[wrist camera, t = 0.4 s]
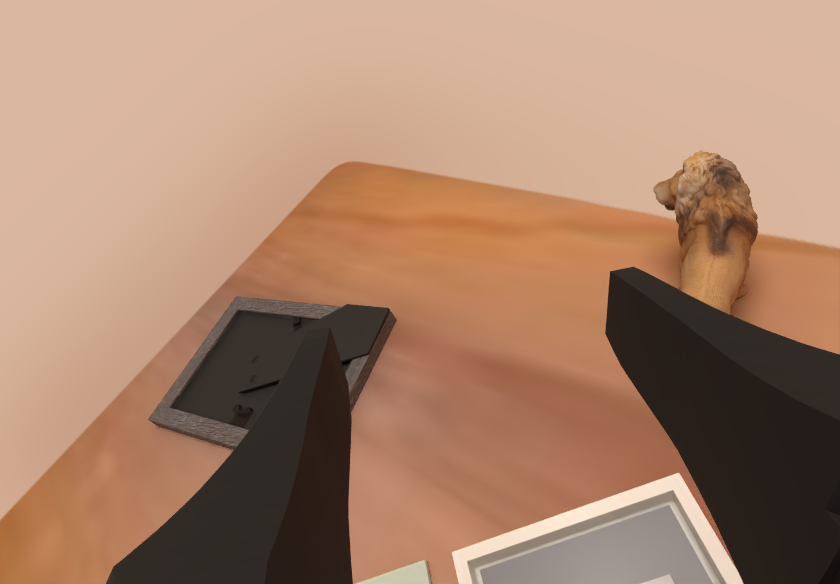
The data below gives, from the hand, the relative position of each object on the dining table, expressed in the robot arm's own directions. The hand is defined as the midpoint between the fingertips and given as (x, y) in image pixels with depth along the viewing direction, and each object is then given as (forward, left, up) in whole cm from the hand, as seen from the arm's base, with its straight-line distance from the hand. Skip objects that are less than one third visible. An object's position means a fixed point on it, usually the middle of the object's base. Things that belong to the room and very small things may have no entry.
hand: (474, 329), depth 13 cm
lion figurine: (+10, -12, -19) cm, 25 cm away
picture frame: (+20, +18, -20) cm, 34 cm away
